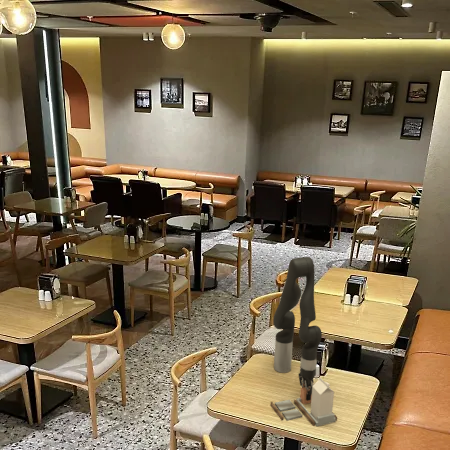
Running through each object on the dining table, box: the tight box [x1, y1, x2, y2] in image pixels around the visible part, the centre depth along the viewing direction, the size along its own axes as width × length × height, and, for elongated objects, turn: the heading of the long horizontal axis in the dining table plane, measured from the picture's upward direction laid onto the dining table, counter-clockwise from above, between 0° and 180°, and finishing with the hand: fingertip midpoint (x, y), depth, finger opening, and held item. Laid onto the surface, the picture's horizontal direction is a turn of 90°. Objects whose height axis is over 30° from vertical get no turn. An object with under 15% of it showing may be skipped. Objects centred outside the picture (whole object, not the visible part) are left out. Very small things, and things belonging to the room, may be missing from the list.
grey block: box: [295, 386, 337, 427], centre depth 225 cm, size 20×10×7 cm, turn 21°
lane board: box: [269, 399, 338, 427], centre depth 225 cm, size 20×24×2 cm
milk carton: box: [309, 376, 335, 421], centre depth 219 cm, size 7×7×19 cm
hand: (306, 397), depth 233 cm, fingers closed on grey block, 3 cm apart
